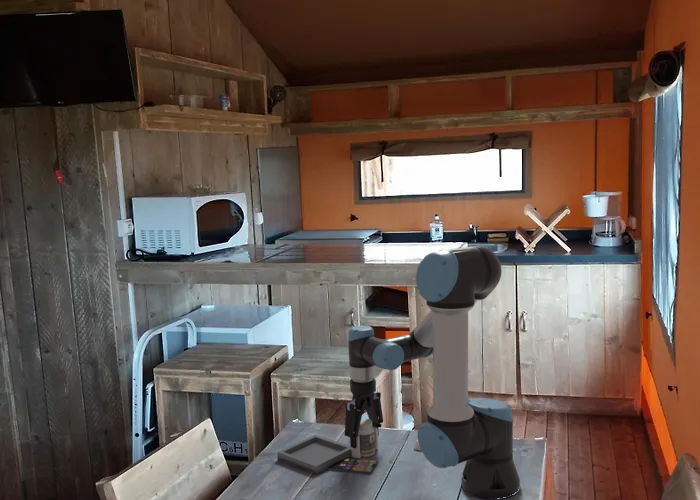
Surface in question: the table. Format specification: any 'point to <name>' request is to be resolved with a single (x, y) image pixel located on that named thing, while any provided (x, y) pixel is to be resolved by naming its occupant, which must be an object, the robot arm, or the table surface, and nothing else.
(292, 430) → the table surface
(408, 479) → the table surface
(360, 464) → the smartphone
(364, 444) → the pill bottle
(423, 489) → the table surface
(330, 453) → the slate tray
